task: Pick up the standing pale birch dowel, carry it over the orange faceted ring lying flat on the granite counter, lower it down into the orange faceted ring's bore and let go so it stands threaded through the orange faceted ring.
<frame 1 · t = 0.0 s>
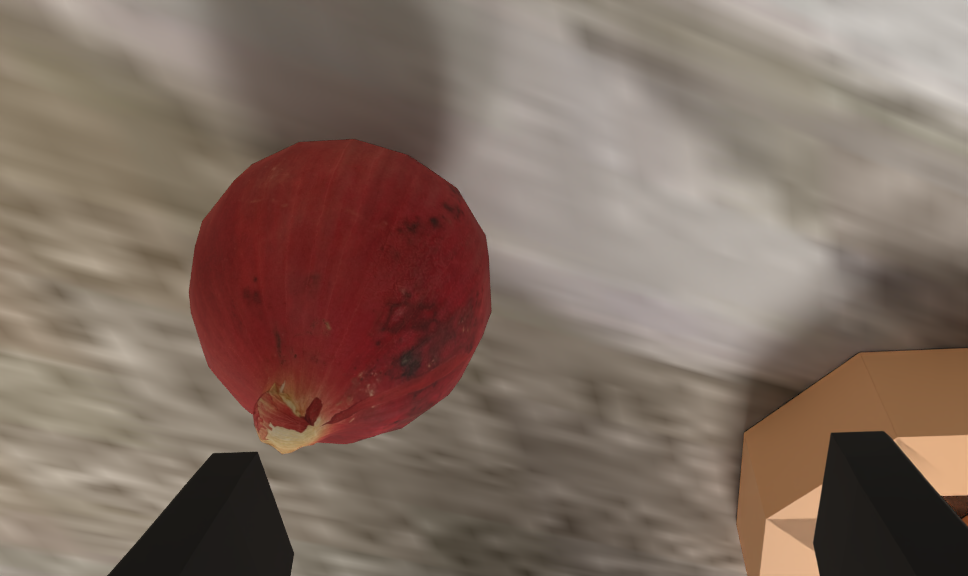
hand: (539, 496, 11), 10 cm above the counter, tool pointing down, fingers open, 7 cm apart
orange faceted ring: (907, 475, 25), on the counter
onion: (376, 191, 21), on the counter
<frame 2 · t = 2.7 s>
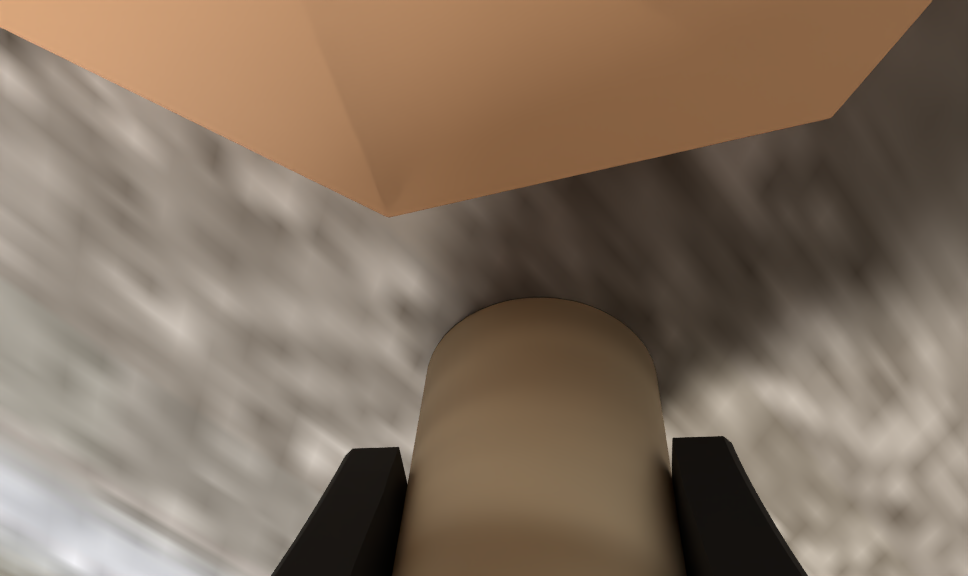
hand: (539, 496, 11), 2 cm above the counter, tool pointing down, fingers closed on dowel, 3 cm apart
dowel: (540, 390, 13), on the counter, touching gripper
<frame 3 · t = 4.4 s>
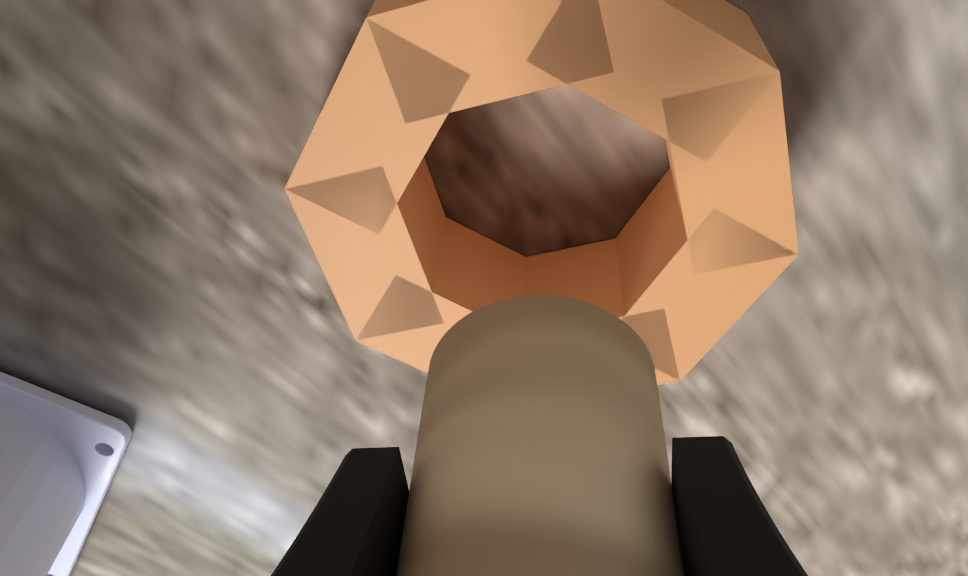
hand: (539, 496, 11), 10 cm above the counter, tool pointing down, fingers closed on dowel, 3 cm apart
dowel: (540, 384, 13), point 8 cm above the counter, touching gripper
orange faceted ring: (543, 151, 19), on the counter
when the fingers open (4 cm above the counter, at t = 6.1 s): dowel drops 1 cm, resting in orange faceted ring.
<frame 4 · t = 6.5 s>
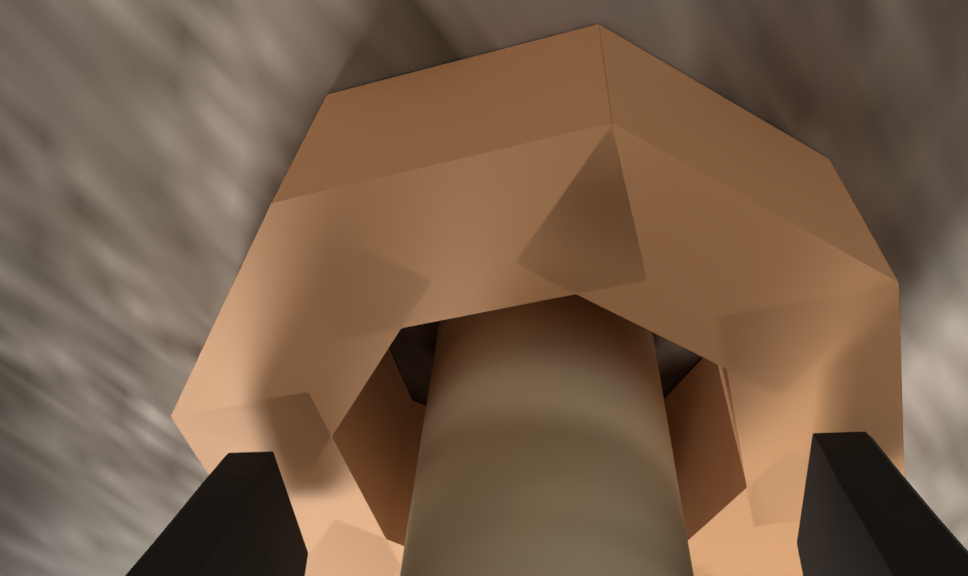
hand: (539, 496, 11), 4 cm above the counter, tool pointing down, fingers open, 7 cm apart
dowel: (544, 329, 14), resting in orange faceted ring
orange faceted ring: (541, 325, 14), on the counter
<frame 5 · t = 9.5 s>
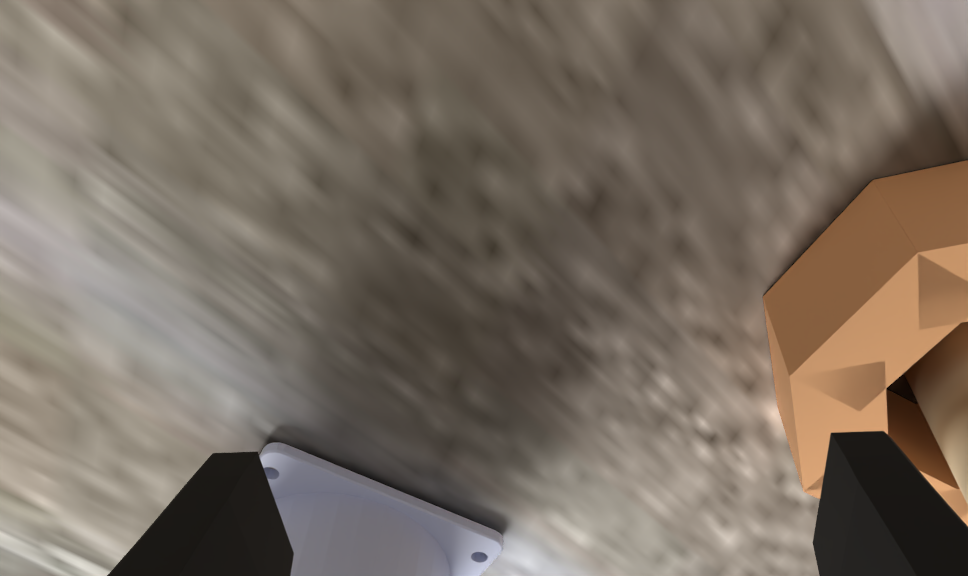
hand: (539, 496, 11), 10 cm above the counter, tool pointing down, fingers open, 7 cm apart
dowel: (960, 324, 22), resting in orange faceted ring
orange faceted ring: (959, 321, 22), on the counter
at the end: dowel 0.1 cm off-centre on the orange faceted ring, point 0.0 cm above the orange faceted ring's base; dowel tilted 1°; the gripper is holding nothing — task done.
